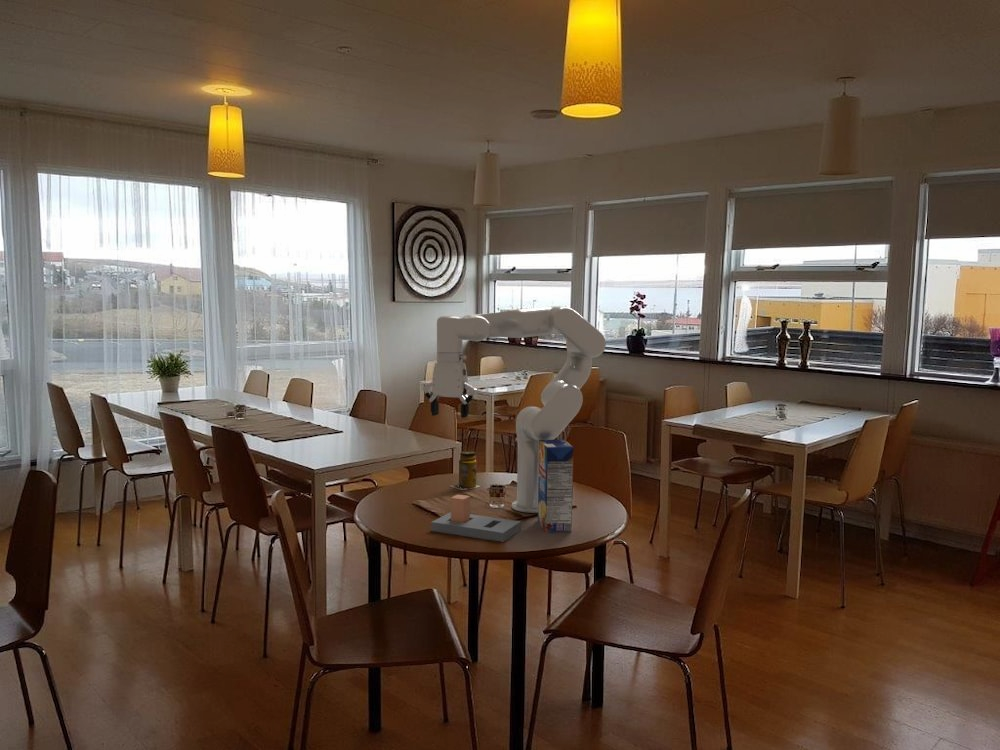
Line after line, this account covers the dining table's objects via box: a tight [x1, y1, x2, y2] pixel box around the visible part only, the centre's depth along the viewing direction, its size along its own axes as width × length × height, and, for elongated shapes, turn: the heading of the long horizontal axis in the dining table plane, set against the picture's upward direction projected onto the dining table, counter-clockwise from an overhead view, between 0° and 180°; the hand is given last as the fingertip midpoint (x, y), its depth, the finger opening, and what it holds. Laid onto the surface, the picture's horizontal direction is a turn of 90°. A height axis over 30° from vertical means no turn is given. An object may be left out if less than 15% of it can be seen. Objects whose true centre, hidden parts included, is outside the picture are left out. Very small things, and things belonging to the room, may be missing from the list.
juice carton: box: [537, 439, 575, 534], centre depth 217 cm, size 12×8×24 cm, turn 7°
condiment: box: [449, 450, 482, 491], centre depth 263 cm, size 7×8×12 cm
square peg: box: [450, 494, 471, 523], centre depth 215 cm, size 4×4×9 cm
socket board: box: [430, 511, 522, 543], centre depth 213 cm, size 12×22×2 cm, turn 65°
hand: (449, 416), depth 226 cm, fingers open, 9 cm apart
